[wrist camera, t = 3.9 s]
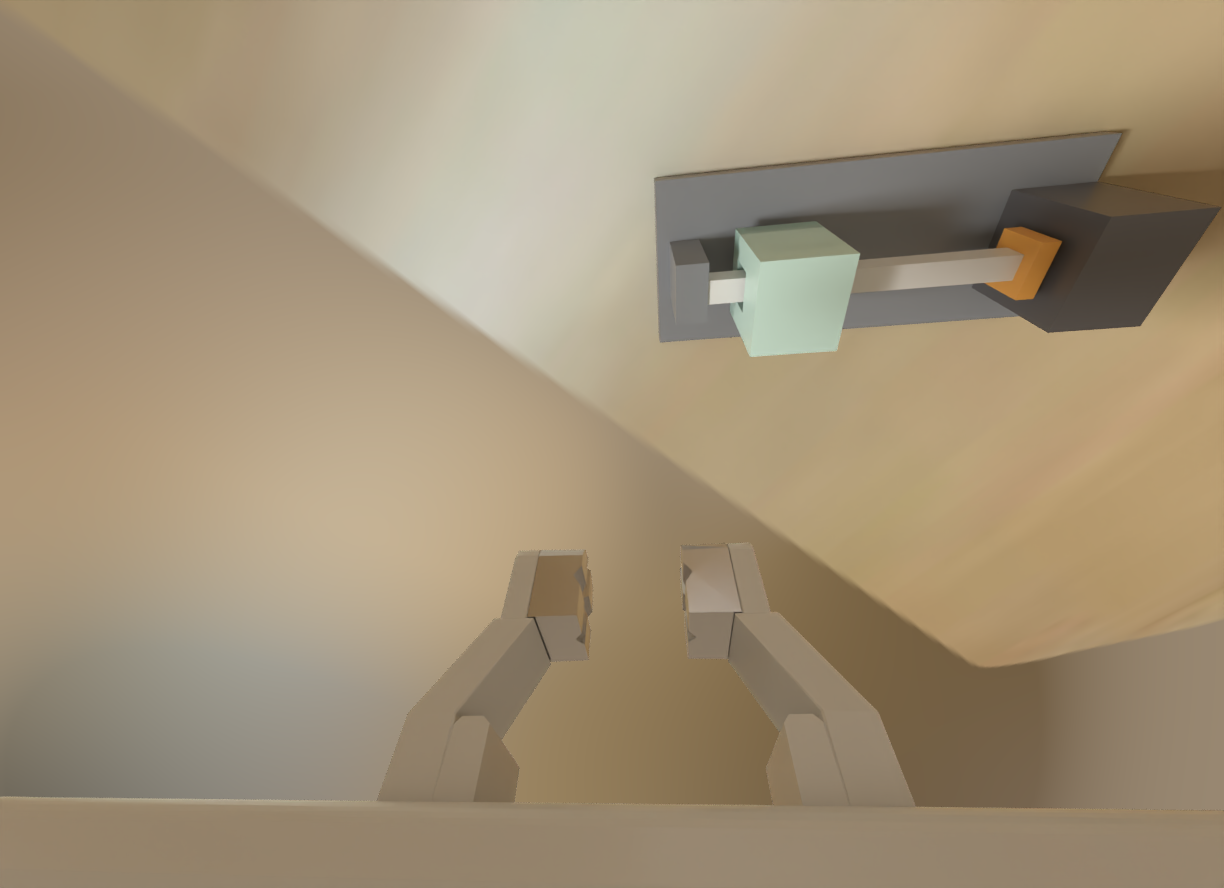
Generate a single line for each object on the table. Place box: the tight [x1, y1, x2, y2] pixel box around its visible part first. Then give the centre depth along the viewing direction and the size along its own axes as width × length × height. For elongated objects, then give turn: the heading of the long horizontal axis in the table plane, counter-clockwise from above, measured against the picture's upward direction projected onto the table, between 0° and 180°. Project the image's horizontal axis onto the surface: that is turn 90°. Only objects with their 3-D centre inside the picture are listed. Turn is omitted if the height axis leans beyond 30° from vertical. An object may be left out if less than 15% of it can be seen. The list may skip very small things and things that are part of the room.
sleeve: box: [730, 221, 860, 357], centre depth 22 cm, size 4×4×6 cm
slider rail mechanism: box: [654, 131, 1221, 342], centre depth 23 cm, size 9×22×7 cm, turn 96°
